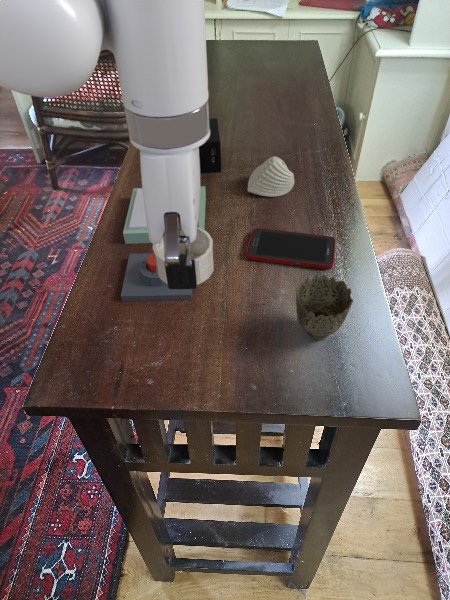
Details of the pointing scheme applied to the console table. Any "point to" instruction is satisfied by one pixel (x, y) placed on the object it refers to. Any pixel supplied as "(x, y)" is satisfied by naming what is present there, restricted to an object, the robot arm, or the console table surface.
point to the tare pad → (147, 283)
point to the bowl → (200, 254)
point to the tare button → (151, 263)
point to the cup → (322, 305)
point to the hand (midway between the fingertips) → (184, 263)
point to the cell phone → (291, 248)
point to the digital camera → (211, 150)
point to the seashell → (271, 179)
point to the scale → (137, 218)
